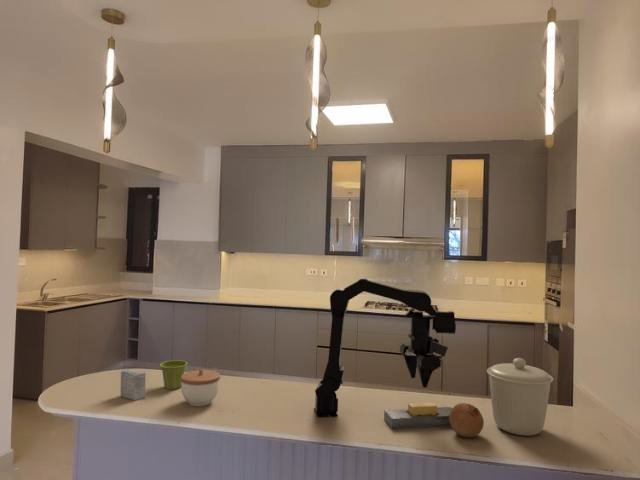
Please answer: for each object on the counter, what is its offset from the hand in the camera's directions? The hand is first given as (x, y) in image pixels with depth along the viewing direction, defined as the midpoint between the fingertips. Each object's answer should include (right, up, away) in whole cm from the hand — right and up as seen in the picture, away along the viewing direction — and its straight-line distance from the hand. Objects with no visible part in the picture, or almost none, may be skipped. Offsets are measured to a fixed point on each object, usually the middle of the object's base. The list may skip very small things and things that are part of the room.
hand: (418, 382), depth 137 cm
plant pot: (-84, -10, +26) cm, 89 cm away
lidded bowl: (-71, -10, +11) cm, 72 cm away
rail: (+1, -12, -1) cm, 12 cm away
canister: (+29, -13, -4) cm, 32 cm away
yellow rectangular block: (+1, -12, -1) cm, 12 cm away
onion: (+11, -12, -10) cm, 19 cm away
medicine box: (-95, -10, +15) cm, 96 cm away
